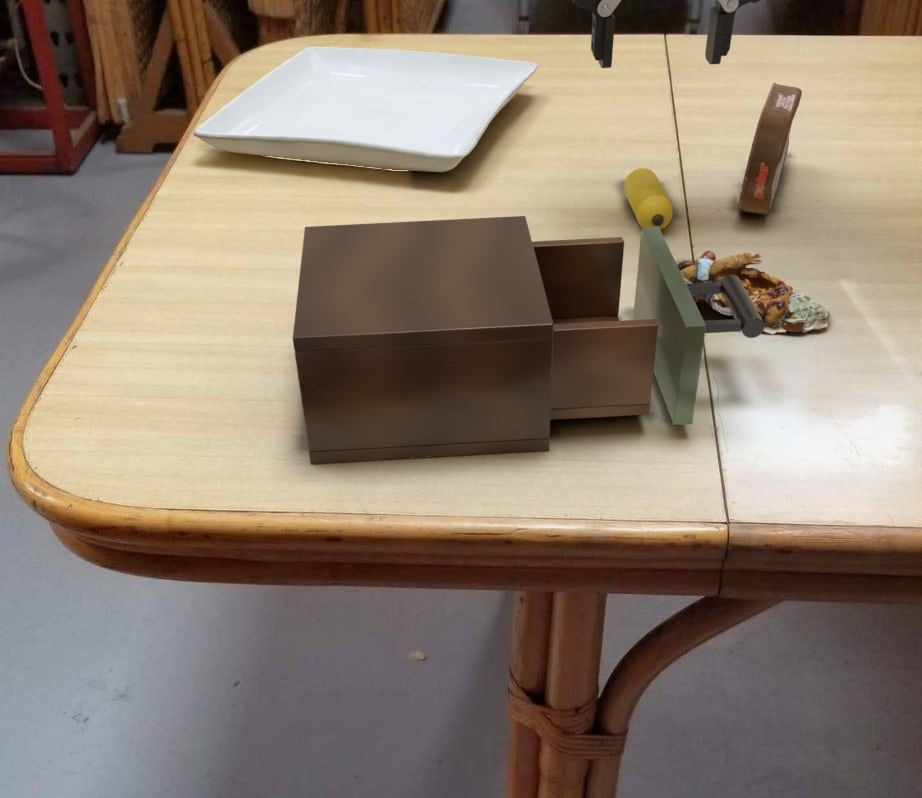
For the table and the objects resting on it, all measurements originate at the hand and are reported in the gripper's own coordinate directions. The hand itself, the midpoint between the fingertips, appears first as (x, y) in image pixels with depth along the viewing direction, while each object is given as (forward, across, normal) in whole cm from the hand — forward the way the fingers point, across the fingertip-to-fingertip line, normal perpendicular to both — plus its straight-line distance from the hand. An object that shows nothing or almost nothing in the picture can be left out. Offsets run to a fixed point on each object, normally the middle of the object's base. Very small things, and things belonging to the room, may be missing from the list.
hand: (658, 63), depth 84 cm
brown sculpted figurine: (+13, +4, -17) cm, 21 cm away
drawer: (+12, -8, -26) cm, 29 cm away
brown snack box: (+13, +11, +3) cm, 17 cm away
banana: (+12, 0, 0) cm, 13 cm away
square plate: (+13, -23, +24) cm, 36 cm away
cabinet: (+13, -20, -26) cm, 35 cm away
